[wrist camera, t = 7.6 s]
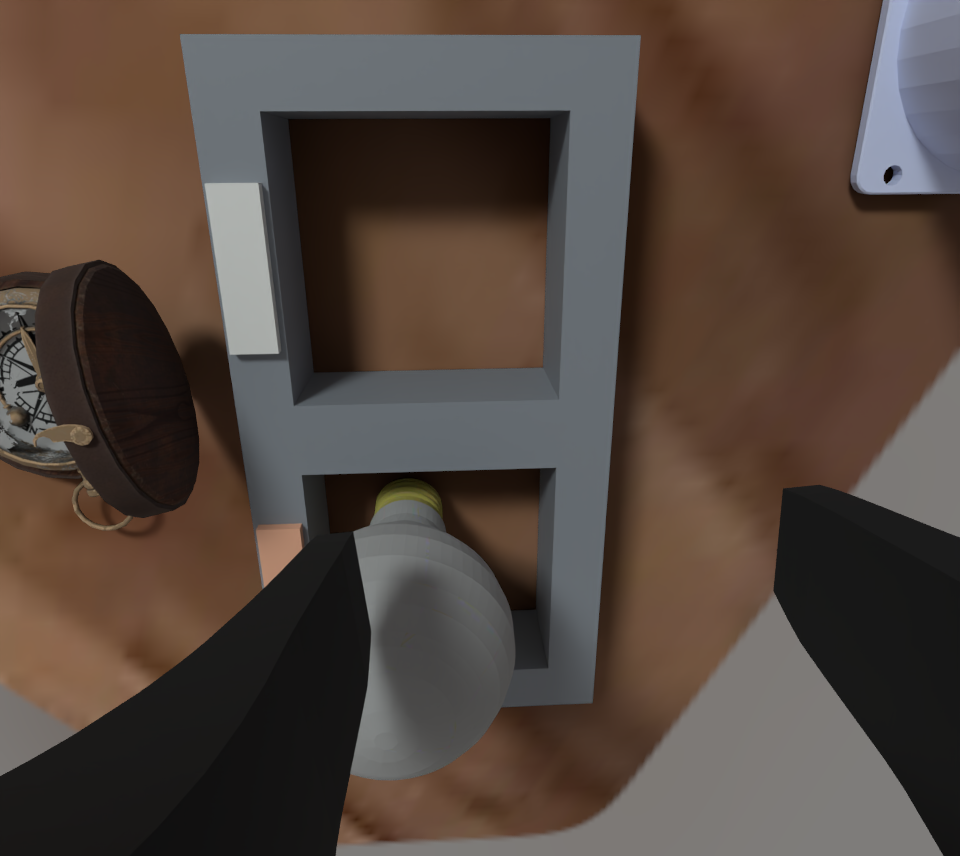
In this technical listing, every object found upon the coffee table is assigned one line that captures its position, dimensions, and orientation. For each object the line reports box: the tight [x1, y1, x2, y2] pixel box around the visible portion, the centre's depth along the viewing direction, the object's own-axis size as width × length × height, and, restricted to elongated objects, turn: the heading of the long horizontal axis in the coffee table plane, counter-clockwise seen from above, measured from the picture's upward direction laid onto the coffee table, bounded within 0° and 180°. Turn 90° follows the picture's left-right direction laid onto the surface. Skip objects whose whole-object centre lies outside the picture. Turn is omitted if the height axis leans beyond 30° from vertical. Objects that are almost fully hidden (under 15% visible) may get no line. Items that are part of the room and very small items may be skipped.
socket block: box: [180, 34, 641, 707], centre depth 19 cm, size 10×19×3 cm, turn 0°
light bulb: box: [350, 478, 515, 780], centre depth 17 cm, size 6×6×10 cm
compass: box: [0, 260, 199, 530], centre depth 17 cm, size 8×8×7 cm
